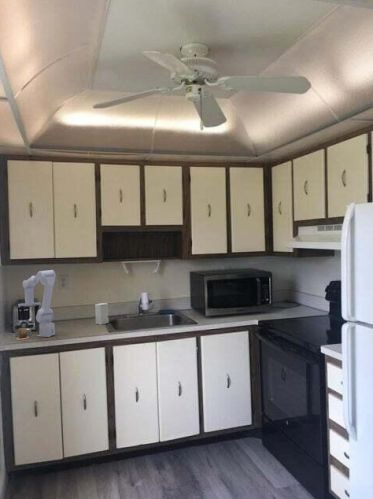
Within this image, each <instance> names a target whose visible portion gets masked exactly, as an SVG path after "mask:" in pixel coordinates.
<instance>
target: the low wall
mask: <svg viewBox="0 0 373 499" xmlns="http://www.w3.org/2000/svg"><path fill="white" fill-rule="evenodd" d="M14 333H15V338H17V337H19V332H18V331H15V332H14ZM27 336H29V337H30V336H32V330H27Z"/></svg>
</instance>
